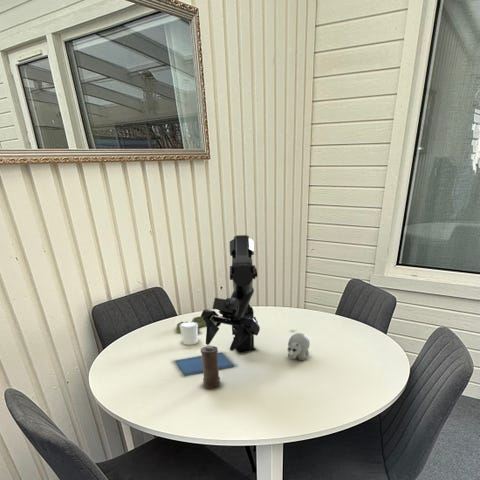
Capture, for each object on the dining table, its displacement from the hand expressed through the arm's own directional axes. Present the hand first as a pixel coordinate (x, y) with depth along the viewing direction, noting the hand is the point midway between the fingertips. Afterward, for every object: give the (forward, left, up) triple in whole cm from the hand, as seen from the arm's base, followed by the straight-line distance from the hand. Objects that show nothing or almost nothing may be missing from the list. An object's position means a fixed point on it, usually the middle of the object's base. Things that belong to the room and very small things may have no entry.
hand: (218, 347), depth 123 cm
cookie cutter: (-8, -53, -11) cm, 55 cm away
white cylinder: (-1, -37, -11) cm, 39 cm away
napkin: (+1, -15, -11) cm, 18 cm away
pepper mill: (+4, +2, -11) cm, 12 cm away
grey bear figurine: (-29, -4, -11) cm, 31 cm away
